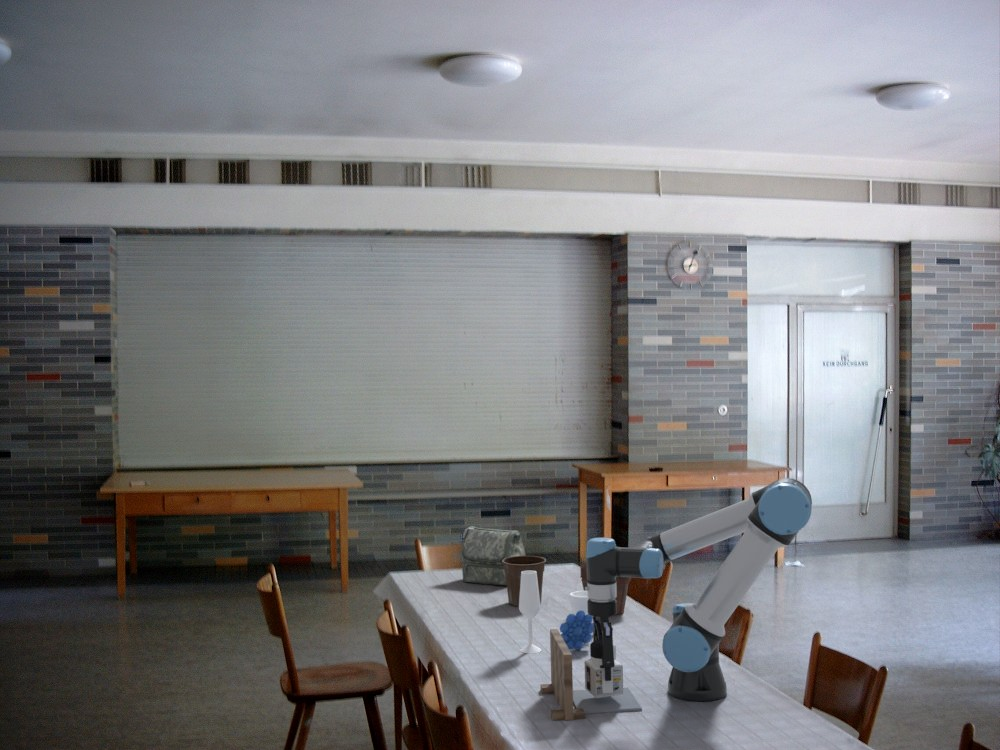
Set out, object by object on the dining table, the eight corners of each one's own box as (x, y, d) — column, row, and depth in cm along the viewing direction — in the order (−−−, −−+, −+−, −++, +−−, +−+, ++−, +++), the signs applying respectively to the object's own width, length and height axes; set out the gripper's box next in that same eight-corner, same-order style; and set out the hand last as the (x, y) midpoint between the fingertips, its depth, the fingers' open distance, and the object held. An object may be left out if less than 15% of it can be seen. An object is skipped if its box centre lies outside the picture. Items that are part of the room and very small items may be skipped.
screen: (585, 719, 239) (584, 653, 238) (553, 721, 238) (551, 655, 238) (569, 687, 262) (568, 628, 262) (540, 689, 262) (538, 629, 262)
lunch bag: (454, 582, 399) (453, 529, 399) (478, 574, 415) (477, 522, 415) (508, 588, 385) (507, 533, 385) (531, 579, 401) (530, 526, 401)
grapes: (591, 644, 304) (590, 606, 304) (598, 650, 297) (597, 611, 297) (555, 647, 301) (554, 609, 301) (561, 653, 294) (560, 614, 294)
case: (631, 604, 354) (629, 555, 354) (633, 618, 334) (631, 566, 334) (582, 605, 356) (580, 556, 356) (581, 619, 336) (579, 567, 336)
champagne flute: (528, 645, 304) (526, 568, 304) (546, 649, 299) (544, 571, 299) (515, 650, 298) (513, 572, 298) (532, 654, 294) (530, 575, 294)
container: (595, 698, 246) (594, 647, 246) (584, 689, 254) (583, 639, 254) (623, 695, 248) (622, 644, 248) (612, 685, 256) (611, 636, 256)
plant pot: (547, 608, 351) (546, 563, 351) (502, 609, 352) (501, 564, 352) (546, 597, 368) (545, 555, 368) (503, 598, 368) (502, 556, 368)
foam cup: (598, 638, 310) (597, 597, 310) (569, 637, 312) (568, 596, 312) (601, 630, 320) (600, 590, 320) (573, 629, 321) (572, 590, 321)
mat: (642, 710, 244) (641, 707, 244) (578, 713, 242) (578, 711, 242) (627, 689, 260) (627, 687, 260) (568, 692, 258) (568, 690, 258)
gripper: (580, 590, 261) (582, 675, 261) (595, 609, 240) (597, 701, 240) (608, 589, 262) (610, 673, 262) (625, 607, 241) (627, 699, 241)
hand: (604, 686), depth 251 cm, fingers closed on container, 8 cm apart
